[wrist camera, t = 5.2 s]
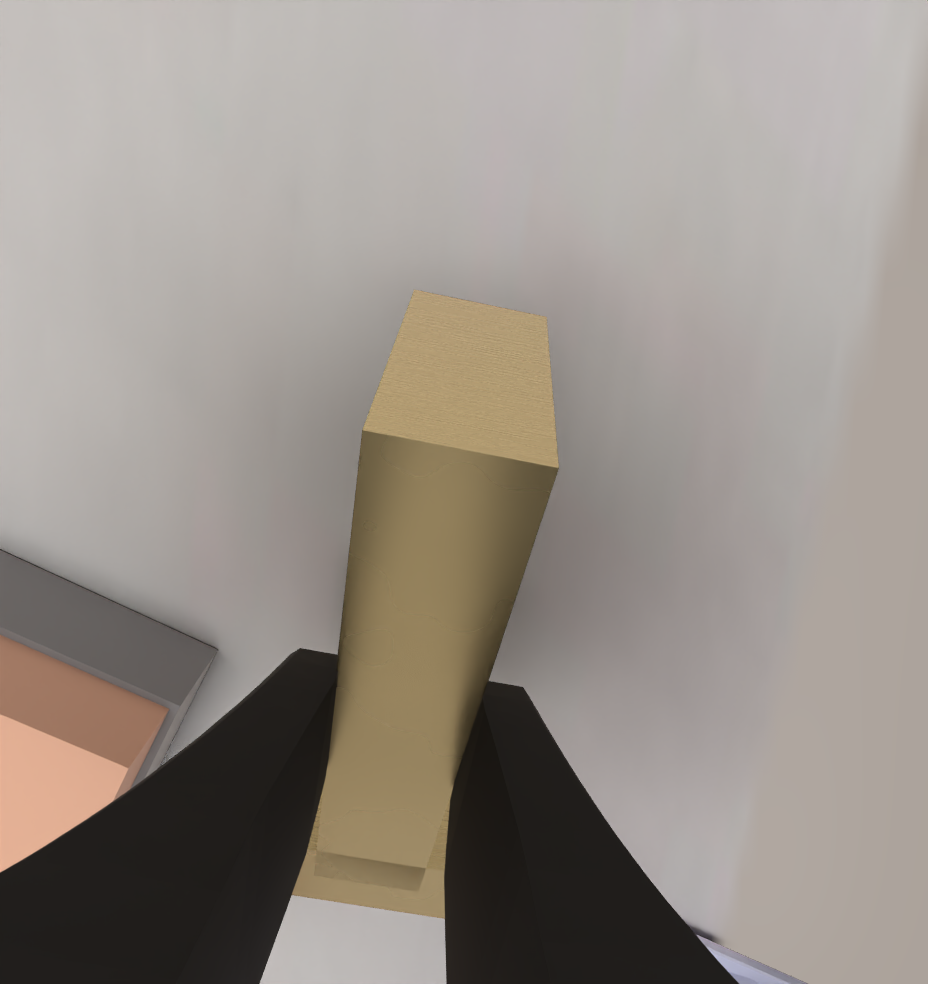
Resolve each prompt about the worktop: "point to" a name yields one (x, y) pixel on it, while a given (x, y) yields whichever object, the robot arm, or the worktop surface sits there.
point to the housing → (104, 643)
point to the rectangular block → (429, 590)
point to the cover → (63, 747)
